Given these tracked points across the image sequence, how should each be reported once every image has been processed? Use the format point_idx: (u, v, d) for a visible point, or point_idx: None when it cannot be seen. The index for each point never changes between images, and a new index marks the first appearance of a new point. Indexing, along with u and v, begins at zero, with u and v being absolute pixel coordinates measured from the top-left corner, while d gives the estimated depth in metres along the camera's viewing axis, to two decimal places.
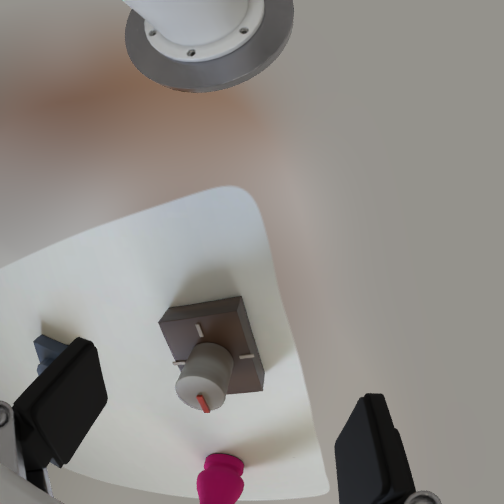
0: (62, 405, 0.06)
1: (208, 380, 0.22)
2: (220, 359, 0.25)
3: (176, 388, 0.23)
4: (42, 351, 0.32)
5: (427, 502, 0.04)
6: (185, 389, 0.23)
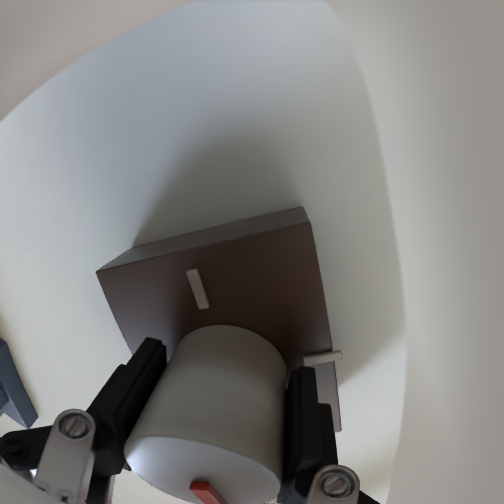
0: (140, 406, 0.07)
1: (233, 452, 0.05)
2: (260, 370, 0.08)
3: (128, 458, 0.06)
4: None
5: (339, 475, 0.05)
6: (154, 465, 0.06)
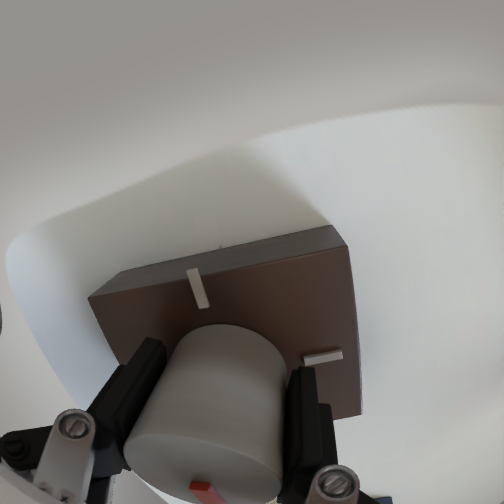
0: (140, 406, 0.07)
1: (234, 453, 0.05)
2: (261, 371, 0.08)
3: (127, 458, 0.06)
4: None
5: (339, 475, 0.05)
6: (154, 465, 0.06)
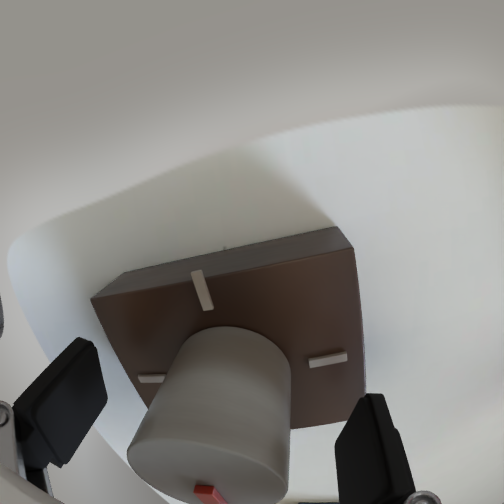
0: (62, 405, 0.06)
1: (240, 458, 0.05)
2: (266, 374, 0.08)
3: (131, 461, 0.06)
4: None
5: (427, 502, 0.04)
6: (158, 468, 0.06)
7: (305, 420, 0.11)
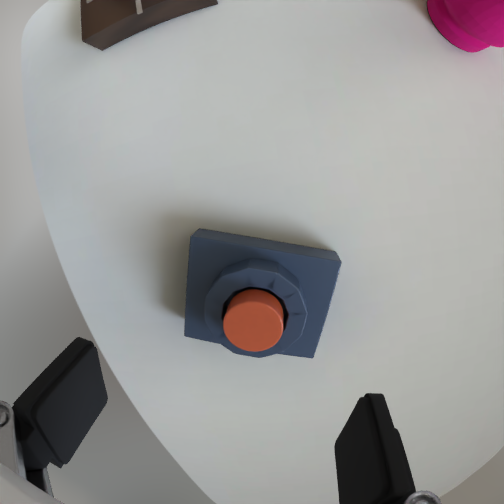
0: (62, 405, 0.06)
1: None
2: None
3: None
4: (200, 321, 0.21)
5: (427, 502, 0.04)
6: None
7: None
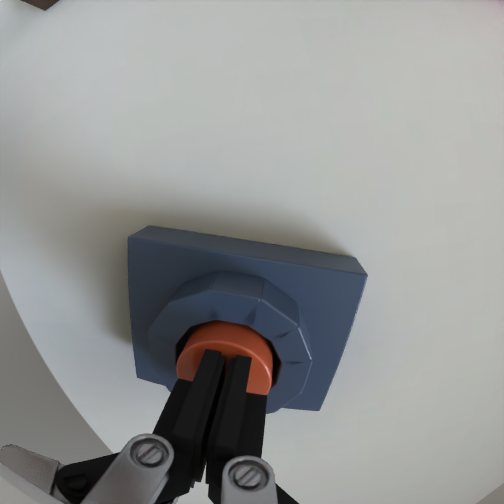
0: (209, 422, 0.07)
1: None
2: None
3: None
4: None
5: (249, 466, 0.06)
6: None
7: None
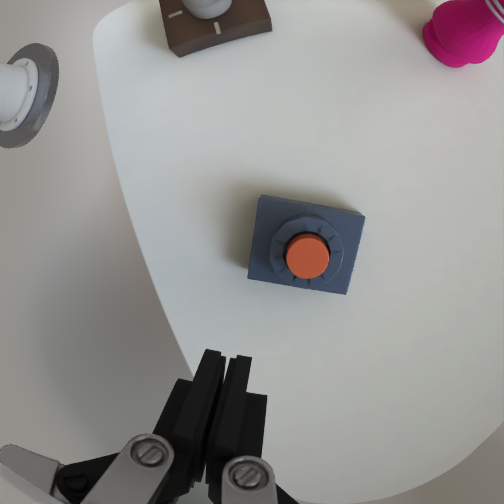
0: (209, 422, 0.07)
1: None
2: None
3: None
4: (261, 264, 0.28)
5: (249, 466, 0.06)
6: None
7: (240, 20, 0.21)
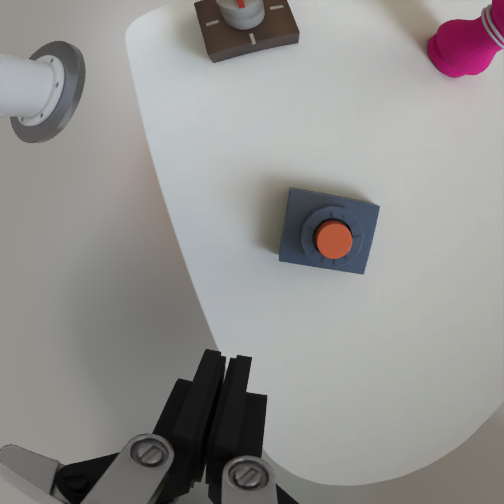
0: (209, 422, 0.07)
1: None
2: None
3: None
4: (292, 248, 0.32)
5: (249, 466, 0.06)
6: None
7: (273, 33, 0.24)
